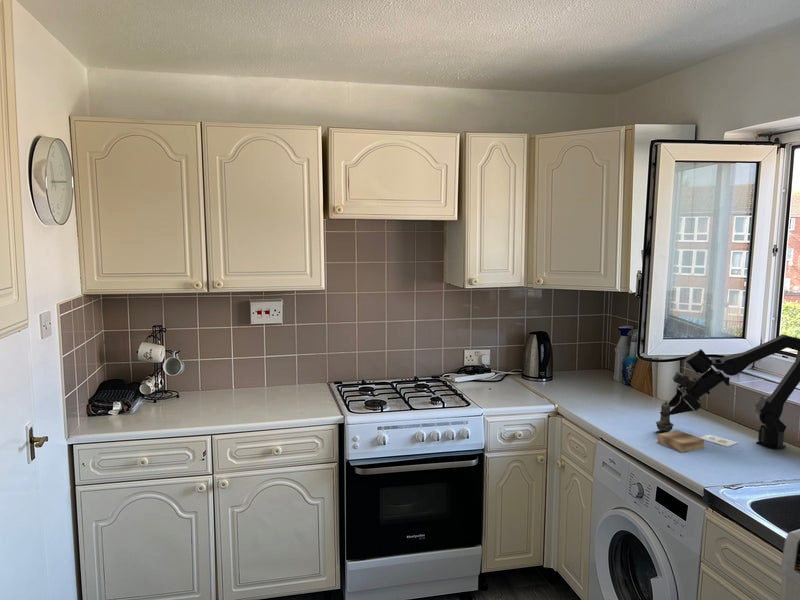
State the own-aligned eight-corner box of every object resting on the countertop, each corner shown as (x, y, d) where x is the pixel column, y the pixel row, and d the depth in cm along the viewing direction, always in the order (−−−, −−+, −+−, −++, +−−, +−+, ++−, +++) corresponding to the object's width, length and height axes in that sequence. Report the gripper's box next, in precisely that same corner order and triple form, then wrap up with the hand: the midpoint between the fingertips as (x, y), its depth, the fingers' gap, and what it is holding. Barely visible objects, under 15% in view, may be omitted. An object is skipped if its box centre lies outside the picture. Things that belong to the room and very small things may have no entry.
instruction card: (738, 443, 198) (738, 442, 198) (727, 447, 194) (727, 446, 194) (708, 434, 206) (708, 433, 206) (698, 438, 202) (698, 437, 202)
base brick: (703, 448, 193) (704, 439, 193) (682, 452, 189) (683, 443, 189) (678, 438, 202) (678, 430, 202) (657, 442, 198) (658, 433, 198)
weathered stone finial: (657, 429, 212) (659, 397, 210) (675, 433, 208) (677, 400, 207) (653, 433, 207) (655, 400, 206) (670, 437, 203) (672, 404, 202)
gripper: (685, 360, 211) (650, 386, 216) (692, 371, 194) (654, 399, 199) (707, 383, 210) (672, 409, 215) (717, 396, 192) (678, 424, 197)
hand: (668, 410), depth 206 cm, fingers open, 9 cm apart
